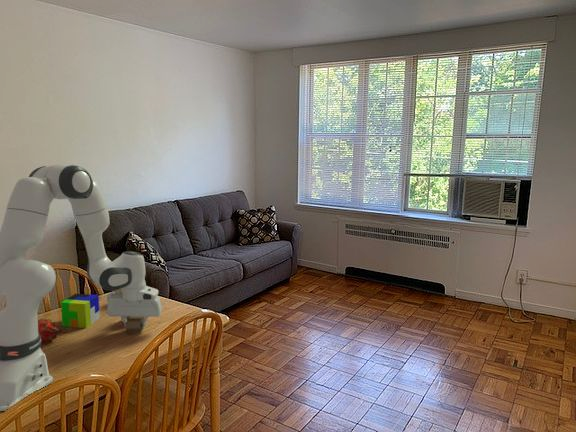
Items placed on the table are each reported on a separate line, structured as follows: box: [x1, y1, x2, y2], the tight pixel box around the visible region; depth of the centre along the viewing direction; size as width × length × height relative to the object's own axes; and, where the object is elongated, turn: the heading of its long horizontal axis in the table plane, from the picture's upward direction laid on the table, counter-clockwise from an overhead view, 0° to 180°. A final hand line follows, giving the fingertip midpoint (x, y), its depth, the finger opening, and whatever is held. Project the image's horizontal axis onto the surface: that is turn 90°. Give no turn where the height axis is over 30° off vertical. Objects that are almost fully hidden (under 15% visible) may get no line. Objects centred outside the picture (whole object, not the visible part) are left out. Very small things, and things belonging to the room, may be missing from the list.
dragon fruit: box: [38, 317, 62, 344], centre depth 161 cm, size 8×8×12 cm
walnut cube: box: [126, 316, 145, 335], centre depth 171 cm, size 5×5×5 cm
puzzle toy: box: [60, 293, 100, 329], centre depth 177 cm, size 10×10×10 cm
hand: (135, 326), depth 171 cm, fingers closed on walnut cube, 5 cm apart
